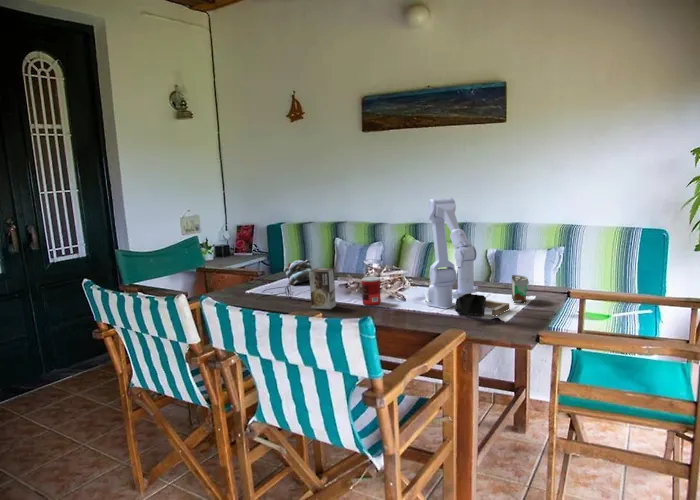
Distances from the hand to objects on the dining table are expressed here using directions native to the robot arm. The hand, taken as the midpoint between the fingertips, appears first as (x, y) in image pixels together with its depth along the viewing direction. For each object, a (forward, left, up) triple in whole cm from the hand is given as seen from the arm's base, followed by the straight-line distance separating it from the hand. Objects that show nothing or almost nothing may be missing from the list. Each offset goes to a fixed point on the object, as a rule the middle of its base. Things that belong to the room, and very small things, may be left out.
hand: (465, 313), depth 199 cm
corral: (0, +12, -2) cm, 12 cm away
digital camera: (0, +2, -1) cm, 2 cm away
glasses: (-91, -20, -2) cm, 93 cm away
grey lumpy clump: (-101, +5, -2) cm, 101 cm away
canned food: (-43, -5, -2) cm, 43 cm away
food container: (+6, +33, -2) cm, 34 cm away
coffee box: (-56, -21, -2) cm, 60 cm away
